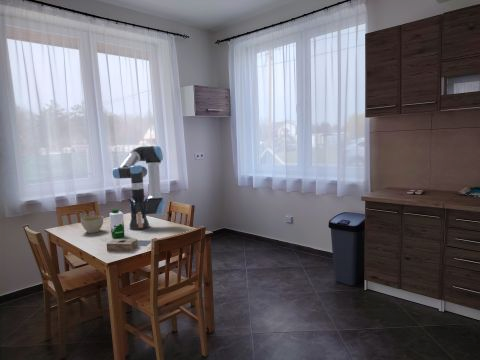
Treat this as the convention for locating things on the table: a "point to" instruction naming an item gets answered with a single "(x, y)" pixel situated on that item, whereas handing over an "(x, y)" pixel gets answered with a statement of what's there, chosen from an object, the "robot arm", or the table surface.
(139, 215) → the peg
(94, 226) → the planter bowl
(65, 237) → the table surface
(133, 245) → the hole block
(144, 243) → the mat
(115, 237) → the milk carton
